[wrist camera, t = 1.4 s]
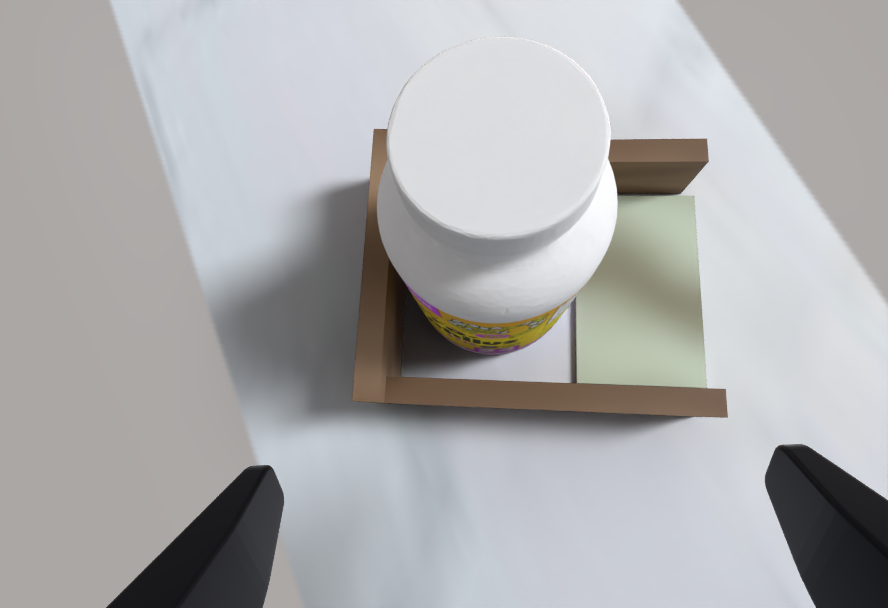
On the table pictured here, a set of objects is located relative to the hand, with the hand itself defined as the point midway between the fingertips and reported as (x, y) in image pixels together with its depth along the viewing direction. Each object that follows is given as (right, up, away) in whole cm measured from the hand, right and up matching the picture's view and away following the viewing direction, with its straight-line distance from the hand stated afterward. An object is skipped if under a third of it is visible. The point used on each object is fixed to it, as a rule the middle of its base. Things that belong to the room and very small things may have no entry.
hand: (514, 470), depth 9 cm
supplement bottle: (+1, +4, +14) cm, 14 cm away
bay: (+3, +4, +14) cm, 14 cm away
